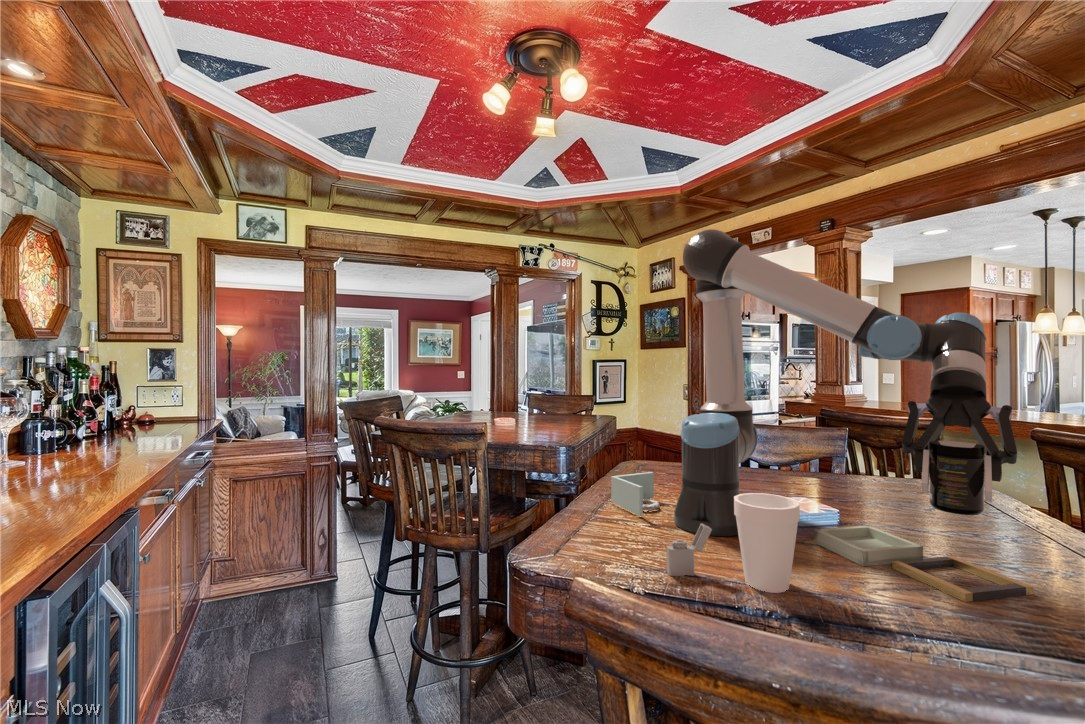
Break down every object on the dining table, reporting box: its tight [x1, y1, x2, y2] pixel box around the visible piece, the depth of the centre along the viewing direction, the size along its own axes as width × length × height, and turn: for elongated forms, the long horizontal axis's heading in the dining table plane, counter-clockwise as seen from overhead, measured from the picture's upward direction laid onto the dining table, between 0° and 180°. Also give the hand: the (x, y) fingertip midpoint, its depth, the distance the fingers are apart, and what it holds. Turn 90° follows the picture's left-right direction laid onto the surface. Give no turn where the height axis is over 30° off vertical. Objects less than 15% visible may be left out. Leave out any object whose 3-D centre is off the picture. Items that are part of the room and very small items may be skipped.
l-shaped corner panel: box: [610, 471, 660, 517], centre depth 119 cm, size 12×12×8 cm
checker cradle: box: [891, 555, 1034, 603], centre depth 78 cm, size 12×12×1 cm
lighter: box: [666, 523, 712, 577], centre depth 82 cm, size 7×2×8 cm, turn 92°
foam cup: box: [734, 492, 801, 594], centre depth 78 cm, size 10×9×13 cm
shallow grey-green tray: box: [813, 525, 924, 567], centre depth 91 cm, size 12×12×2 cm
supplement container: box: [928, 440, 985, 516], centre depth 78 cm, size 7×7×10 cm
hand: (955, 492), depth 75 cm, fingers closed on supplement container, 7 cm apart
